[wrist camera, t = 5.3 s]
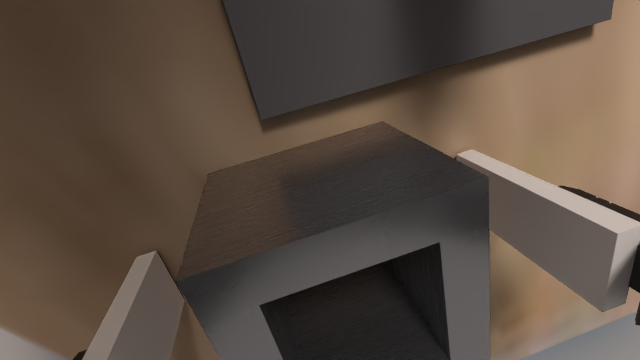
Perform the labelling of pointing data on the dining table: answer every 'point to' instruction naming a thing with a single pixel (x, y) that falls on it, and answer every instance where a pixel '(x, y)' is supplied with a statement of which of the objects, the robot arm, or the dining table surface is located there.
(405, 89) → the dining table surface
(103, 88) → the dining table surface
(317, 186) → the socket
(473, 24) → the mat
